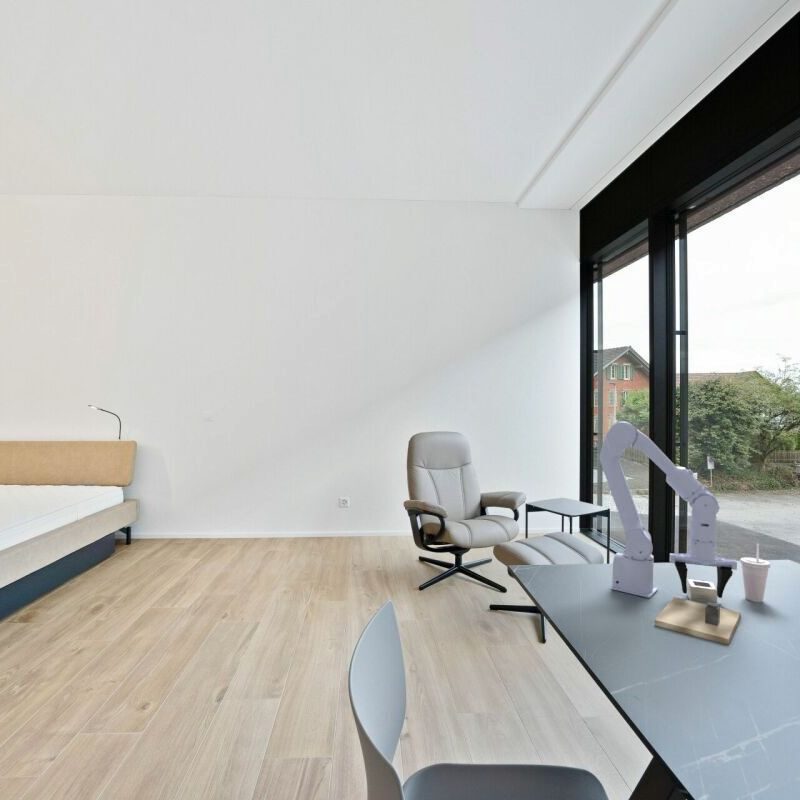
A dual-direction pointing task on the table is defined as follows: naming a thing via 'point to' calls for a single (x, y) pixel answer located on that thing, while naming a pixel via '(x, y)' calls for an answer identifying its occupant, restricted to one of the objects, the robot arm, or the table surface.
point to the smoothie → (754, 577)
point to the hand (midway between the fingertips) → (701, 594)
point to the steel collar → (701, 591)
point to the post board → (699, 620)
